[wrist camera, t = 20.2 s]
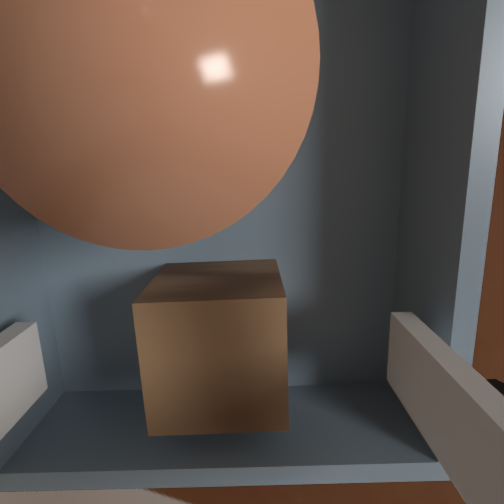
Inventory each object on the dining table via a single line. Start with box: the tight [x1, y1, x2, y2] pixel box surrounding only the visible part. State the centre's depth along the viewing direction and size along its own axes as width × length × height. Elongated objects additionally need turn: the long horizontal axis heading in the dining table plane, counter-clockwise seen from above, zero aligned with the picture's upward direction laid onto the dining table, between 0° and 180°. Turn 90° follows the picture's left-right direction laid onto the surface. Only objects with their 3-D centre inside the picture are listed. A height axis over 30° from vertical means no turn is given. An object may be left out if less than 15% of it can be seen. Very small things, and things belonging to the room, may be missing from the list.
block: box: [132, 259, 289, 436], centre depth 15 cm, size 5×5×5 cm
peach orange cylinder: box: [0, 0, 320, 250], centre depth 10 cm, size 5×5×11 cm
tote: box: [0, 0, 504, 492], centre depth 14 cm, size 22×18×6 cm
